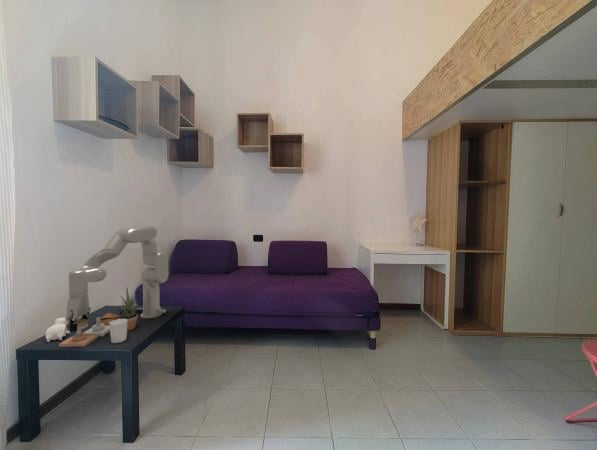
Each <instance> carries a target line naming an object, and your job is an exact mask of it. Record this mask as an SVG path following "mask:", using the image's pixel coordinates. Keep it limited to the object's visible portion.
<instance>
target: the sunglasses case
mask: <svg viewBox="0 0 597 450" xmlns="http://www.w3.org/2000/svg"><path fill="white" fill-rule="evenodd" d="M120 316H121V315H118V314H117V313H116V314H115V313H111V312H109V311H108V312H106V313H105V314H104V315H102V316H101V317H100V318H101V323H104V324H105V326H110V322H111V321H113V320H117V319H119V317H120ZM95 324H96V321H95V322H94V323H93V325H95Z"/></svg>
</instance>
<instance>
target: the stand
mask: <svg viewBox="0 0 597 450" xmlns="http://www.w3.org/2000/svg"><path fill="white" fill-rule="evenodd" d="M95 322H96V324H95V325H94V324H93V325H92V326H91V328H89V329H87V330H85V331H84V332H83V333H86V335H98V337H104V336H105V335H106V334H108V333H110V326H105V324H104V323H101V317H96V318H95Z"/></svg>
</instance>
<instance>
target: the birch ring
mask: <svg viewBox="0 0 597 450" xmlns="http://www.w3.org/2000/svg"><path fill="white" fill-rule="evenodd" d="M76 323H77V330H79V329H82V330H83V329H85V328H87V327H89V319H88V320H87V319H81V318H80V319H79V318H78V319H77V322H76Z"/></svg>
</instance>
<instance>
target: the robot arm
mask: <svg viewBox="0 0 597 450" xmlns="http://www.w3.org/2000/svg"><path fill="white" fill-rule="evenodd" d="M157 236H158V229H157V228H156V227H155V226H153V225H134V226H132V227H131V228H120V229H118V230H117V231H116V232H115V233H114V234H113V236H112V237H111V238H110V239H109V240H108V242H107V243H106V245H105V246H104V247H103V248H102V249H100V250H98V251H97V252H96V253H95V254H93V255H92V256H91V257H89V258H88V259H87V260H86V261H85V263H84V264H83V265H82V266H81V268H80V269H74V270H73V269H72V270H70V271H69V273H68V300H67V304H66V317H65V318H66V321H67V323H68V325H69V331H70V333H74V332H76V333H77V323H76V322H77V320H78V319H79V318H80V319H87V320H88V321H89V314H90V311H91V310H92V308H91V306H90V300H89V287H88V285H89V283H97V282H102V281H103V280H105V278H106V277H107V271H106V269H104V268H101V266H102V265H103V264H104V263H106V262H108V261H110V260H113V259H115V258H117V257H119V256H120V255H121V254H122V252H123V251H124V249H125V248H126V246H127V245H128V244H137V243H140V244H141V251H142V252H141V253H142V262H143V264H144V265H145V266H148V267H145V268H144V269H143V270H142V272H141V275H140V278H141V283H142V306H143V307H142V312H141V314H140V318H142V319H153V318H157V317H160V316H161V315H163V314H164V313H166V312H167V310H166V308H162V307H161V306H160V303H161V302H160V284H163V283H165V282H167V281H168V279H169V258H168V256H167V254H166V253H165V252H162V251H158V245H157V241H156V237H157Z"/></svg>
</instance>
